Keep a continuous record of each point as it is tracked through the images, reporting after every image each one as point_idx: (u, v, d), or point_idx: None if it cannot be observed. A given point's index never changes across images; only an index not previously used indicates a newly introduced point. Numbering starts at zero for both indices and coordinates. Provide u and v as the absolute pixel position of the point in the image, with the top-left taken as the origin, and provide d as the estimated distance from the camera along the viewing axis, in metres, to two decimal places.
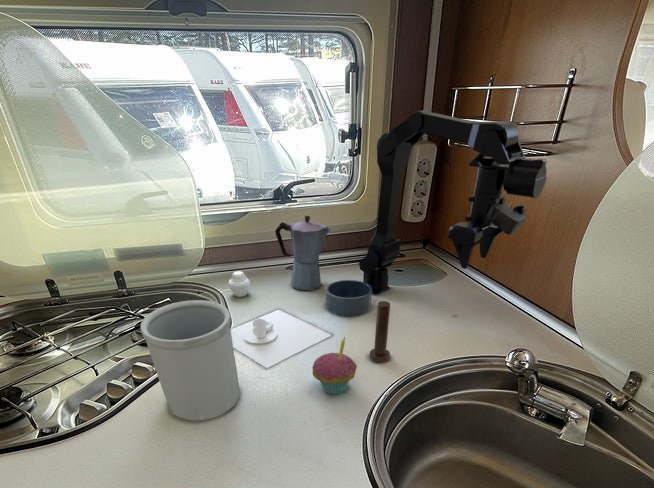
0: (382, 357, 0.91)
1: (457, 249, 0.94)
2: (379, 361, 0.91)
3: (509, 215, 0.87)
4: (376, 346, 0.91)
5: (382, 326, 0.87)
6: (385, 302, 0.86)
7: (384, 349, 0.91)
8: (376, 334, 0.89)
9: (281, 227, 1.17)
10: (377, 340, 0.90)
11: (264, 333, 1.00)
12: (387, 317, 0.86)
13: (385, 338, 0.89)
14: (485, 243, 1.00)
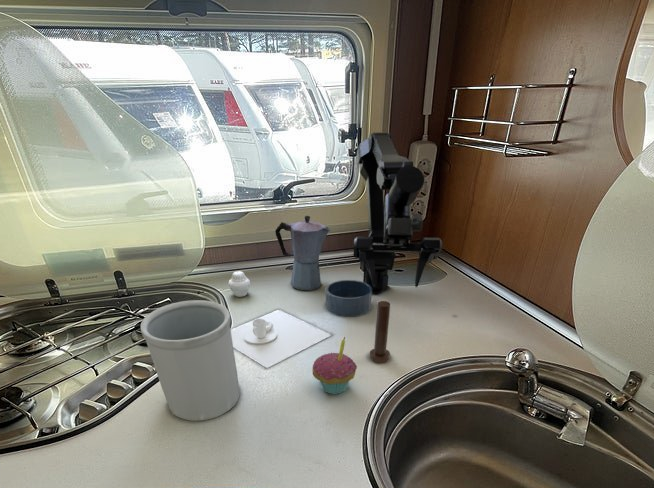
0: (382, 357, 0.91)
1: (367, 268, 0.94)
2: (379, 361, 0.91)
3: None
4: (376, 346, 0.91)
5: (382, 326, 0.87)
6: (385, 302, 0.86)
7: (384, 349, 0.91)
8: (376, 334, 0.89)
9: (281, 227, 1.17)
10: (377, 340, 0.90)
11: (264, 333, 1.00)
12: (387, 317, 0.86)
13: (385, 338, 0.89)
14: (417, 271, 0.92)
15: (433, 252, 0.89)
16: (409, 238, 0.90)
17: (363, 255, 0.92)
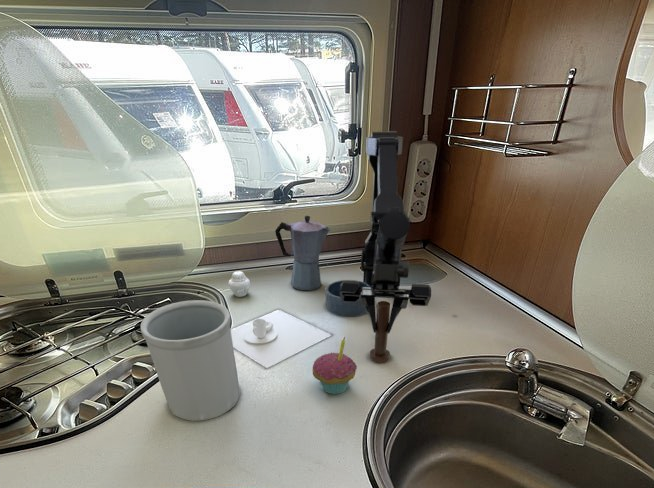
0: (382, 357, 0.91)
1: (369, 314, 0.91)
2: (379, 361, 0.91)
3: None
4: (376, 346, 0.91)
5: (382, 326, 0.87)
6: (385, 302, 0.86)
7: (384, 349, 0.91)
8: (376, 334, 0.89)
9: (281, 227, 1.17)
10: (377, 340, 0.90)
11: (264, 333, 1.00)
12: (387, 317, 0.86)
13: (385, 338, 0.89)
14: None
15: (405, 298, 0.86)
16: (397, 284, 0.86)
17: (364, 300, 0.89)
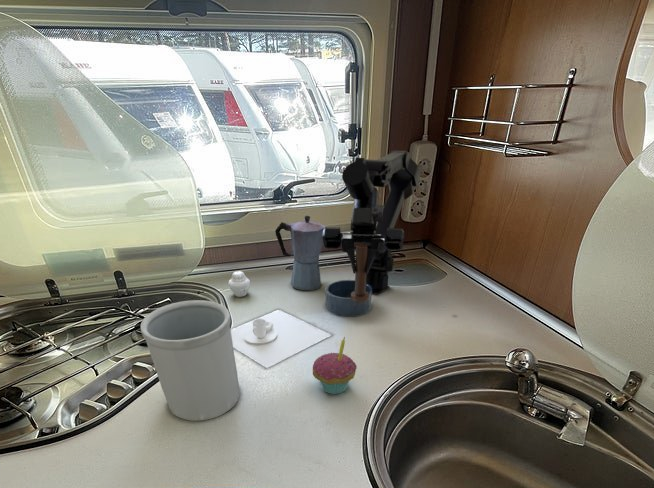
0: (362, 297, 1.01)
1: (349, 258, 1.01)
2: (359, 300, 1.01)
3: None
4: (356, 286, 1.01)
5: (360, 266, 0.97)
6: (363, 244, 0.96)
7: (363, 289, 1.01)
8: (356, 274, 0.99)
9: (281, 227, 1.17)
10: (357, 280, 1.00)
11: (264, 333, 1.00)
12: (365, 258, 0.96)
13: (364, 278, 0.99)
14: None
15: (381, 241, 0.96)
16: (373, 228, 0.96)
17: (345, 245, 0.99)
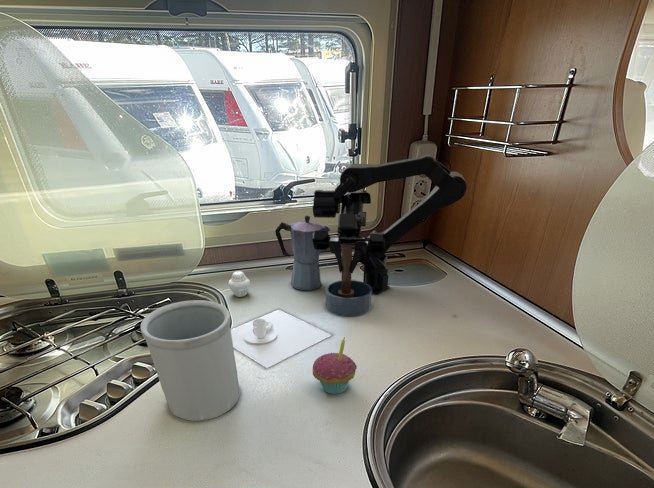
0: (347, 294, 1.12)
1: (336, 258, 1.11)
2: (345, 297, 1.12)
3: None
4: (342, 285, 1.11)
5: (346, 266, 1.08)
6: (348, 247, 1.07)
7: (349, 287, 1.12)
8: (342, 274, 1.10)
9: (281, 227, 1.17)
10: (343, 279, 1.10)
11: (264, 333, 1.00)
12: (350, 259, 1.07)
13: (349, 277, 1.10)
14: None
15: (364, 243, 1.06)
16: (358, 232, 1.07)
17: (332, 247, 1.10)
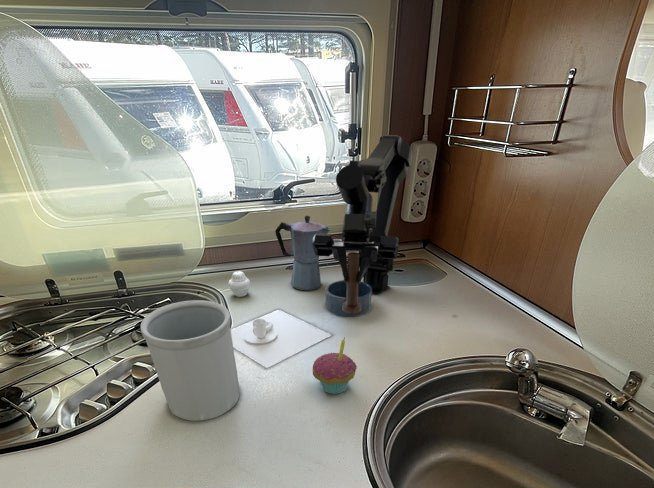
0: (353, 308, 0.96)
1: (341, 266, 0.95)
2: (351, 312, 0.96)
3: None
4: (348, 297, 0.95)
5: (352, 276, 0.92)
6: (354, 253, 0.91)
7: (355, 300, 0.96)
8: (347, 284, 0.94)
9: (281, 227, 1.17)
10: (348, 290, 0.94)
11: (264, 333, 1.00)
12: (357, 267, 0.91)
13: (356, 288, 0.94)
14: None
15: (374, 249, 0.90)
16: (366, 236, 0.91)
17: (336, 252, 0.93)
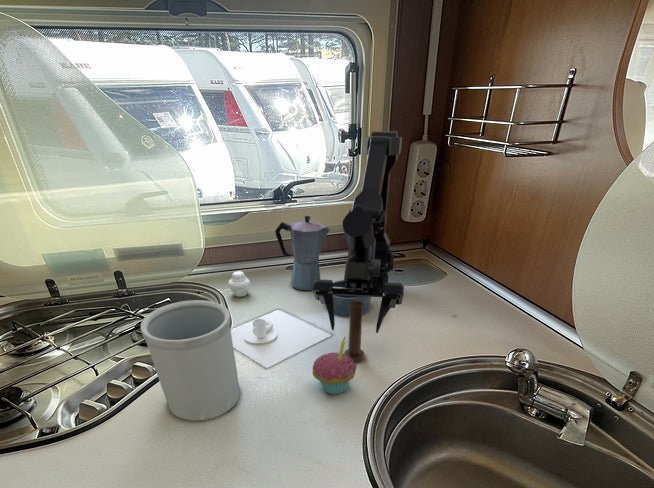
0: (356, 357, 0.91)
1: None
2: (353, 361, 0.91)
3: None
4: (350, 346, 0.91)
5: (355, 326, 0.87)
6: (357, 302, 0.86)
7: (358, 349, 0.91)
8: (350, 334, 0.89)
9: (281, 227, 1.17)
10: (351, 340, 0.90)
11: (264, 333, 1.00)
12: (360, 317, 0.87)
13: (358, 338, 0.89)
14: None
15: (394, 298, 0.85)
16: (369, 283, 0.86)
17: (323, 298, 0.89)
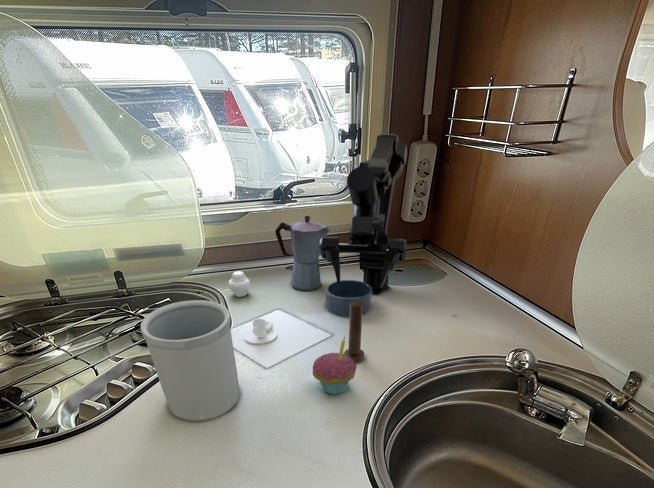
0: (356, 357, 0.91)
1: (334, 269, 0.95)
2: (353, 361, 0.91)
3: None
4: (350, 346, 0.91)
5: (355, 326, 0.87)
6: (357, 302, 0.86)
7: (358, 349, 0.91)
8: (350, 334, 0.89)
9: (281, 227, 1.17)
10: (351, 340, 0.90)
11: (264, 333, 1.00)
12: (360, 317, 0.87)
13: (358, 338, 0.89)
14: None
15: (397, 252, 0.89)
16: (374, 238, 0.90)
17: (329, 255, 0.93)
